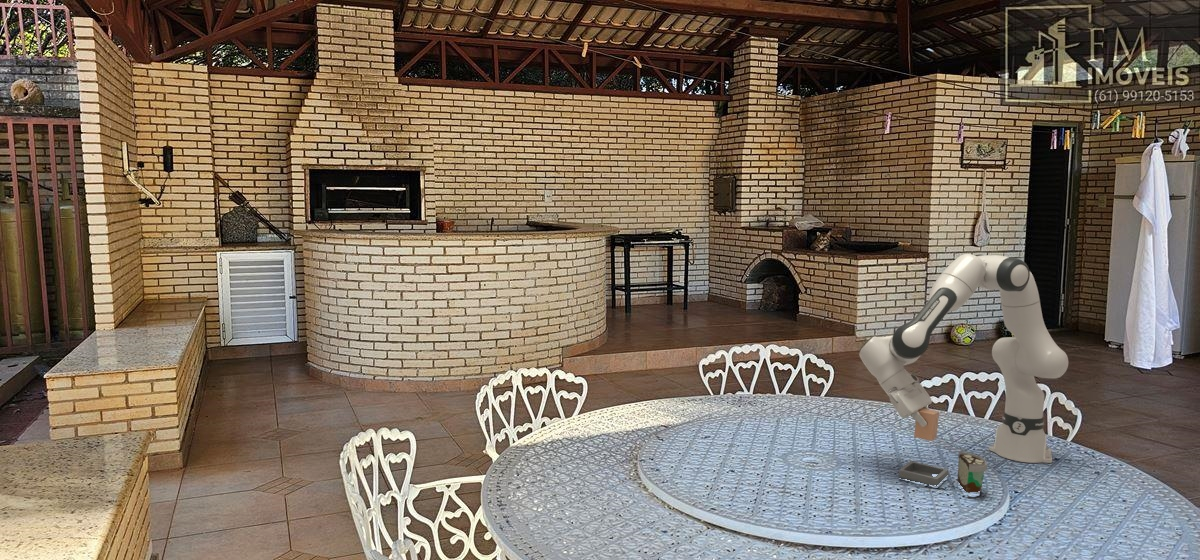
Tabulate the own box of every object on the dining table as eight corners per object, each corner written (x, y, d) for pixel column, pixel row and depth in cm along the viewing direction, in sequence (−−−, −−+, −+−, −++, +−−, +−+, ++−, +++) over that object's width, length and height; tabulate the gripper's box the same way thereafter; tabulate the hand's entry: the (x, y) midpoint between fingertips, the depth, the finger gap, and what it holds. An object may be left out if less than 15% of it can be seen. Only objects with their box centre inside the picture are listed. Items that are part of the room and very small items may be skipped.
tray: (910, 470, 238) (910, 461, 238) (947, 479, 231) (948, 469, 231) (898, 479, 230) (898, 469, 230) (936, 489, 223) (937, 479, 223)
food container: (990, 501, 215) (993, 467, 214) (967, 499, 216) (969, 464, 215) (978, 485, 227) (981, 453, 226) (955, 483, 228) (958, 451, 227)
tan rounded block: (919, 433, 234) (921, 408, 233) (936, 437, 231) (939, 411, 230) (914, 436, 230) (916, 410, 229) (931, 440, 227) (934, 414, 226)
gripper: (895, 384, 225) (926, 424, 220) (917, 374, 241) (947, 411, 235) (878, 396, 228) (909, 436, 223) (901, 385, 244) (931, 422, 239)
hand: (929, 423), depth 229 cm, fingers closed on tan rounded block, 5 cm apart
